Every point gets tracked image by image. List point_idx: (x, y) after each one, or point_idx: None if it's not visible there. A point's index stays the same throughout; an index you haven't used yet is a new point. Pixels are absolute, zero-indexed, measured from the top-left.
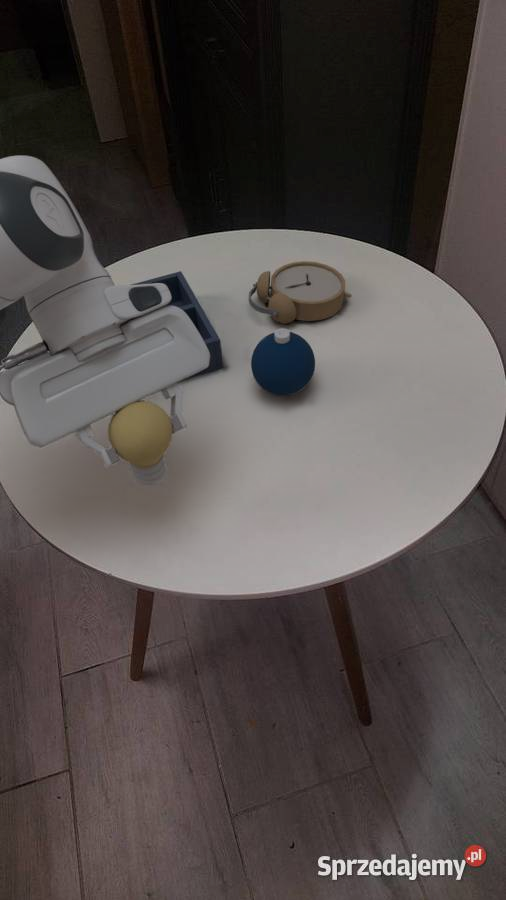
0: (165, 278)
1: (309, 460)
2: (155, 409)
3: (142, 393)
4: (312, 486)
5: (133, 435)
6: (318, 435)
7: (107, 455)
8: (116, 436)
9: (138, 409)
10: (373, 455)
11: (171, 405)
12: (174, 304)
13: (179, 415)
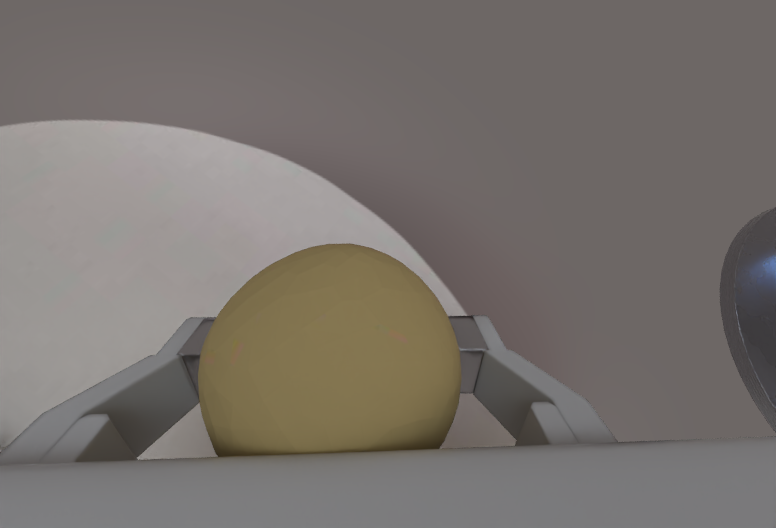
0: None
1: (96, 303)
2: (227, 341)
3: (200, 477)
4: (139, 258)
5: (395, 275)
6: (33, 340)
7: (482, 334)
8: (450, 334)
9: (301, 366)
10: (14, 248)
11: (157, 426)
12: None
13: (173, 345)
